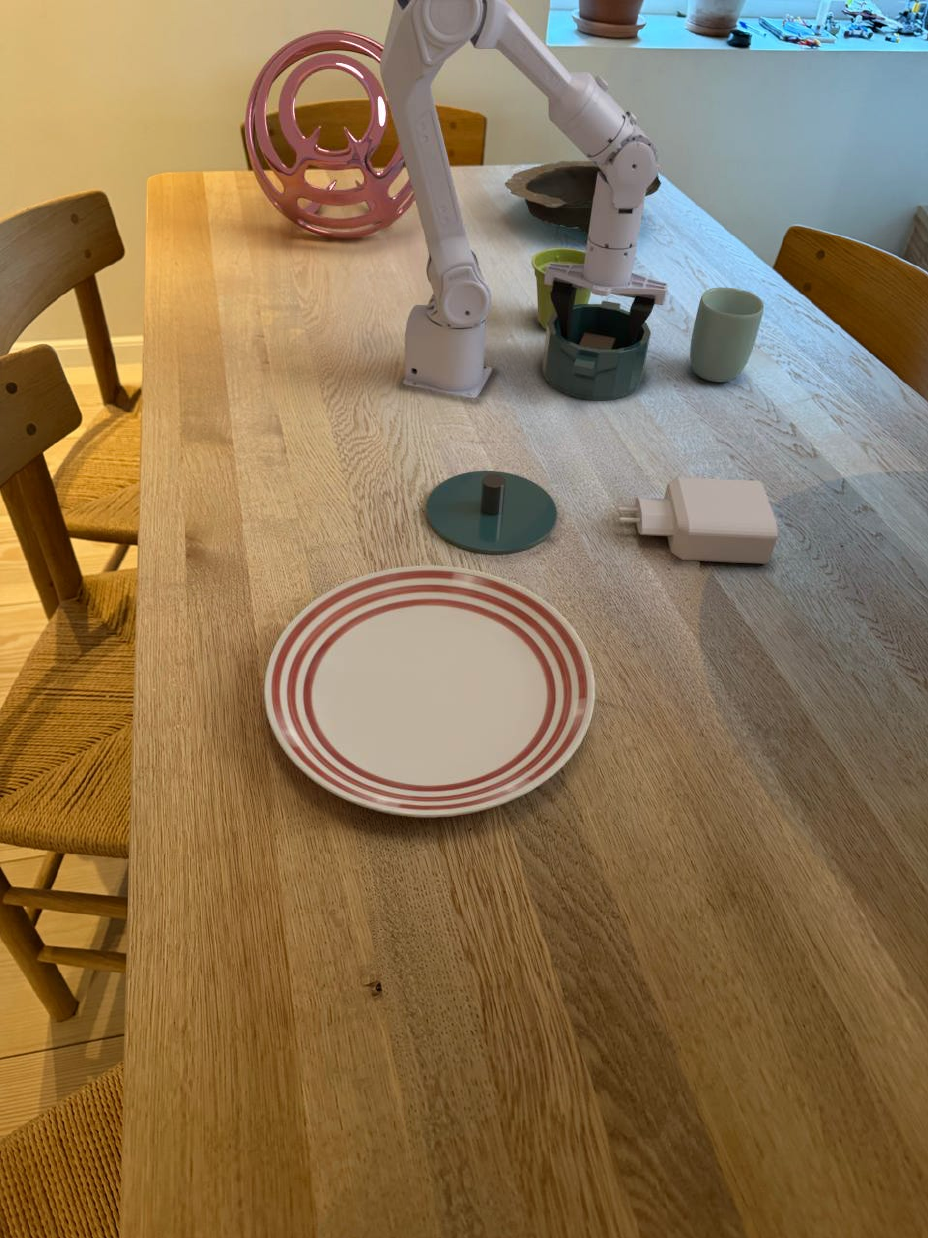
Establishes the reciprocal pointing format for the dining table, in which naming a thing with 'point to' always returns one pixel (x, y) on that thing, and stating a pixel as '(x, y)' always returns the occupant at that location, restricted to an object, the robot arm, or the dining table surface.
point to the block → (597, 341)
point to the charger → (710, 520)
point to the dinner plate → (429, 691)
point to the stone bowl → (562, 192)
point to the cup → (724, 333)
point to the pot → (595, 354)
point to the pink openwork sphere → (306, 148)
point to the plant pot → (543, 290)
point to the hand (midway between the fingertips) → (595, 347)
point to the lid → (491, 512)
